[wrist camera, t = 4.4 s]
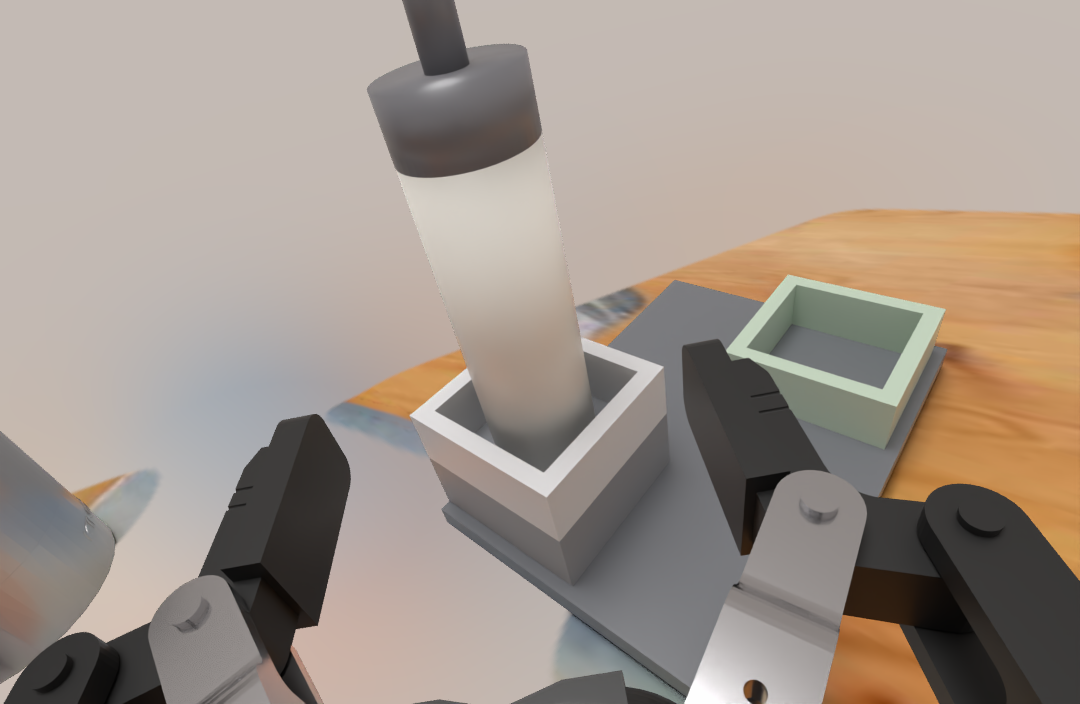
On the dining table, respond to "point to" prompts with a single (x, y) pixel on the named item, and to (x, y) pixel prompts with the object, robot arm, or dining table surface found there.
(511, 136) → the plug
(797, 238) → the dining table surface
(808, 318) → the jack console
